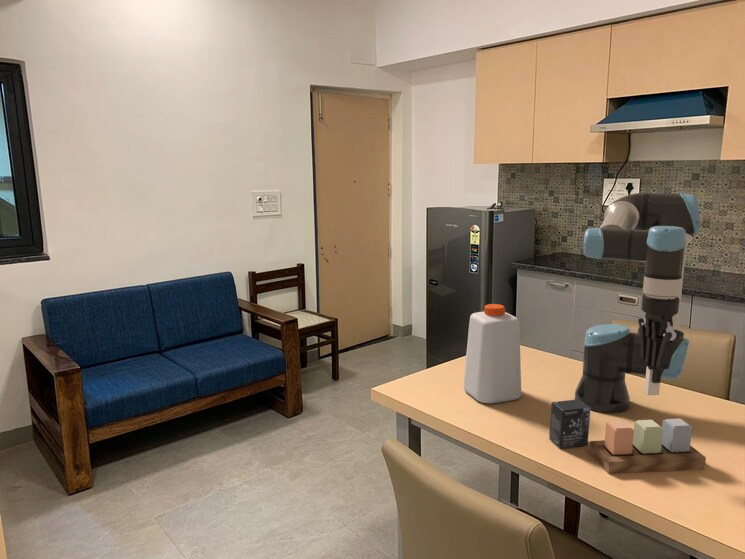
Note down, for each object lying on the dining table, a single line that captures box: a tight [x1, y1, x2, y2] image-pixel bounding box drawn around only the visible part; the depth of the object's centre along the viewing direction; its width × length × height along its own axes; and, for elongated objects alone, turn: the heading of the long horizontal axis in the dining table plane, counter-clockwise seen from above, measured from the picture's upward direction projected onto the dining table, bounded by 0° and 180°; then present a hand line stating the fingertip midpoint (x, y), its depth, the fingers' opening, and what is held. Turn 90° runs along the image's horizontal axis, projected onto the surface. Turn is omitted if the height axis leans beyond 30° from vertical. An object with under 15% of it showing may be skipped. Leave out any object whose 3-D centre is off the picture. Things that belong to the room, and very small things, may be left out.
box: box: [548, 398, 591, 450], centre depth 145 cm, size 8×6×11 cm
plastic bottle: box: [462, 303, 522, 405], centre depth 175 cm, size 15×15×28 cm
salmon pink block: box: [604, 420, 634, 455], centre depth 136 cm, size 4×4×6 cm
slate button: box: [661, 418, 693, 452], centre depth 137 cm, size 4×4×6 cm
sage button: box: [633, 419, 663, 453], centre depth 136 cm, size 4×4×6 cm
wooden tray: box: [589, 439, 707, 475], centre depth 137 cm, size 23×10×3 cm, turn 94°
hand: (651, 393), depth 134 cm, fingers closed
